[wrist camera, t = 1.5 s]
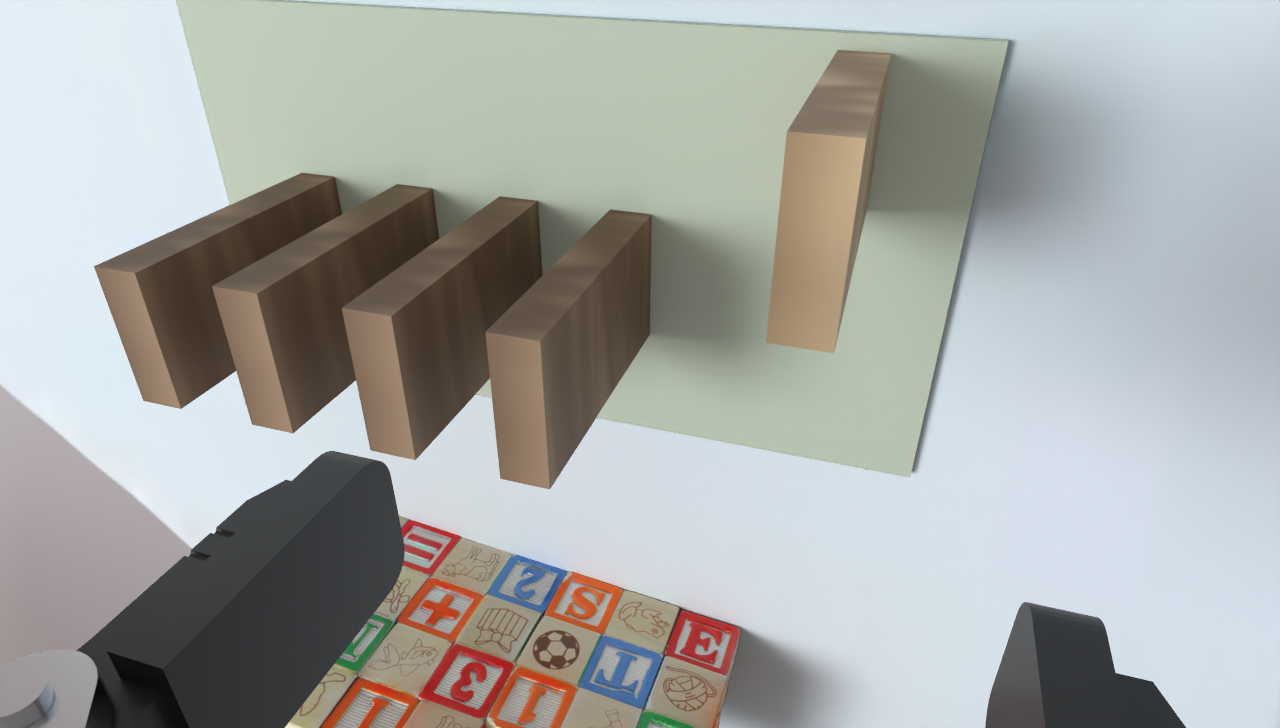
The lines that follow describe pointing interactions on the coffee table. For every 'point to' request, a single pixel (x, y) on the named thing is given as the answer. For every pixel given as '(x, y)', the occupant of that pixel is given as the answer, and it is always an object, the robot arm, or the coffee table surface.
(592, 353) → the domino
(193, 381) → the domino
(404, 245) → the domino
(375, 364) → the domino
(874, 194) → the mat
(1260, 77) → the coffee table surface
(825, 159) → the domino
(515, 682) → the stack of blocks
